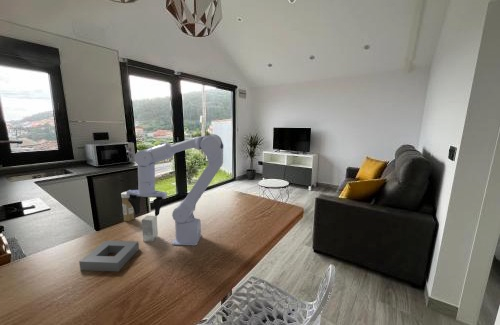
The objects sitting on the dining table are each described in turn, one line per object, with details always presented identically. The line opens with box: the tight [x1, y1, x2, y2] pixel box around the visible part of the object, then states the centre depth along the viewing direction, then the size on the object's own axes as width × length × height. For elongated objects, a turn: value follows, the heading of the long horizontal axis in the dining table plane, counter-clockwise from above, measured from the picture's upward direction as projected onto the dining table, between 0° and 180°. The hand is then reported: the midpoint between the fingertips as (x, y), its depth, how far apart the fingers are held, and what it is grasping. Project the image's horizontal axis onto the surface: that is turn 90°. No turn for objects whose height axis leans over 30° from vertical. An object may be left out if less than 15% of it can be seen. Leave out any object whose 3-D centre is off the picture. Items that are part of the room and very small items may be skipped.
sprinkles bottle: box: [120, 191, 135, 222], centre depth 99 cm, size 5×5×14 cm
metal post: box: [141, 215, 159, 243], centre depth 84 cm, size 4×4×9 cm
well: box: [78, 239, 140, 272], centre depth 72 cm, size 12×12×3 cm
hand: (147, 214), depth 83 cm, fingers open, 7 cm apart
